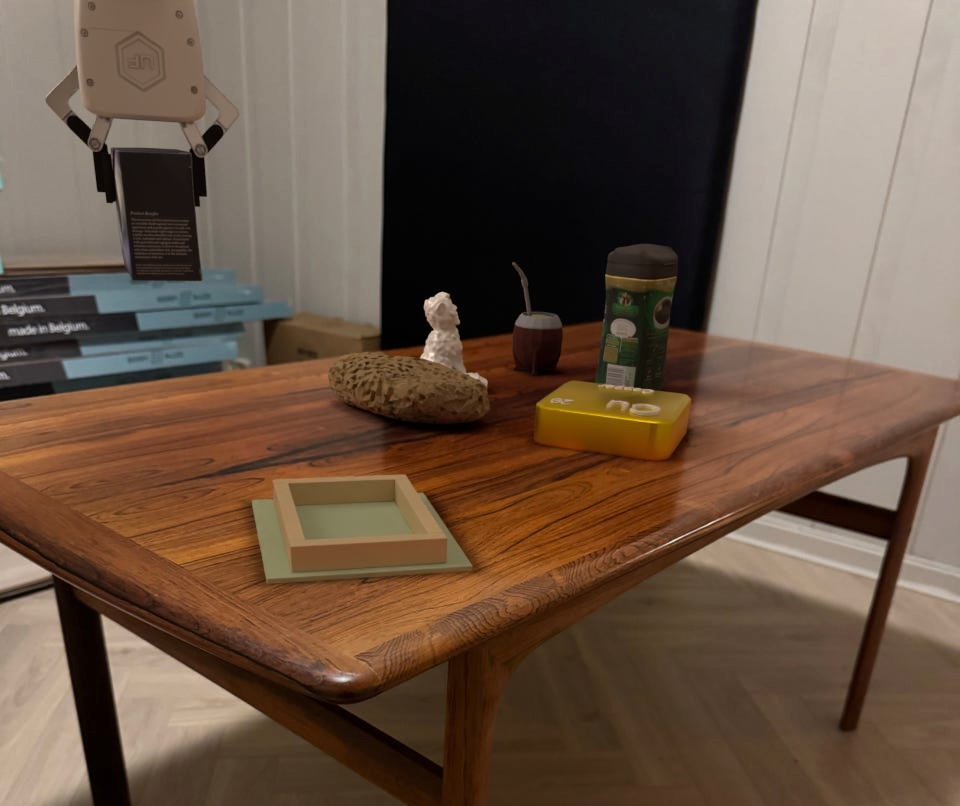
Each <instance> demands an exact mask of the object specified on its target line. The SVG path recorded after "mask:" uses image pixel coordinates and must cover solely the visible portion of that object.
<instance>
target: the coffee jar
mask: <svg viewBox="0 0 960 806" xmlns="http://www.w3.org/2000/svg"><path fill="white" fill-rule="evenodd" d="M678 264H679V256H678V255H677V253H676V252H675V251H674V250H673V248H672V247H671V246H665V245H660V244H652V243H639V244H631V245H627V246H620V247H616V248H615V249H614V250H613V251H611V252H609V254H608V255H607V264H606V270H605V277H604V278H605V279H604V280H605V307H604V315H603V322H602V323H603V324H602V331H601V339H600V345H599V351H598V352H599V353H598V359H597V366H596V372H595V380H594V381H595V382H594V383H599V384H610V385H615V386H623V385H624V387H634V388H641V389H651V390H656V391H663V389H664V385H665V375H666V366H667V365H666V363H667V362H666V361H667V351H668V340H669V329H670V321H671V320H670V319H671V310H672V303H673V297H674V291H675V287H676V283H677V279H678V277H677V276H678V270H679V269H678V267H679V265H678Z"/></svg>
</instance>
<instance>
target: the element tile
mask: <svg viewBox="0 0 960 806" xmlns="http://www.w3.org/2000/svg"><path fill="white" fill-rule="evenodd" d="M691 406H692V399H691V397H690V396H689V395H688V394H685V393H680V392H671V391H664V390H661V391H656V390H651V389H641V388H634V387H624V385H623V386H615V385H610V384H599V383H595V382H591V381H590V382H589V381H581V380H569V381H567V382H565V383H563V384H562V385H560V386H559V387H557V388H556V389H555V390H553V391H552V392H551V393H548V394H547V395H545V396H544V397H543V398H541V399H540V400H539V401H538V402H536V404H535V415H534V426H533V427H534V429H533V440H534V442H535V443H536V444H538V445H541V446H546V447H553V448H559V449H567V450H571V451H572V450H573V451H579V452H587V453H594V454H599V455H608V456H615V457H621V458H629V459H636V460H642V461H651V462H661V461H666V460H668V459H670V458H671V457H672V455H673V454H674V452H675V451H676V449H677V448H678V446H679V445H680V443H681V442H682V441H683V439H684V438H685V436H686V434H687V432H688V426H689V418H690V412H691Z"/></svg>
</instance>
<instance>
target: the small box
mask: <svg viewBox="0 0 960 806" xmlns="http://www.w3.org/2000/svg"><path fill="white" fill-rule="evenodd" d="M110 154H111V159H112V169H113V180H114V190H115V199H116V201H115V202H114V203H115V210H116V217H117V219H116V220H117V227H118V232H119V233H118V234H119V242H120V249H121V254H122V260H123V265H124V267H125V269H126V271H127V273H128V274H129V277H130V279H131V281H132V282H139V281H140V282H157V281H158V282H202V281H203V273H202V272H203V271H202V263H201V255H200V245H199V234H198V224H197V212H196V207H195V201H194V189H193V168H192V154H191V153H190V152H189V151H187V150H182V149H177V148H160V147H159V148H158V147H116V146H115V147H112V146H111V147H110Z"/></svg>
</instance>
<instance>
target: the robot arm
mask: <svg viewBox="0 0 960 806" xmlns="http://www.w3.org/2000/svg"><path fill="white" fill-rule="evenodd" d="M73 29H74V44H75V57H76V65H75V66H74V67H72V69H71V70H70V71H69V72H68V73H67V74H66V75H65V76H64V77H63V78H62V79H61V80H60V81H59V82H58V83H57V85H55V86H54V87H53V89H51V90H50V91H49V93H48V94H47V95H46V96H45V99H44V100H45V103H46V105H47V106H48V107H49V108H50V109H51V111H53V113H55V115H57V116H58V117H59V119H60V120H61V121H62V122H63V123H64V125H66V127H68V129H70V131H72V132H73V133H74V135H76V136H77V137H78V138H79V140H81V142H83V143H84V144H85V145H86V146H87V147H88V148H89V149H90V150H91V151H92V160H93V167H94V168H93V169H94V176H95V185H96V186H95V187H96V192H97V193H104V194H105V201H106V204H113V203H116V202H115V201H116V199H115V190H114V180H113V169H112V159H111V153H110V152H109V148H108V144H107V143H106V142H107V140H108V137H109V133H110V131H111V128H112V125H113V122H114V120H115V119H118V120H131V121H133V120H134V121H145V122H146V121H147V122H162V123H163V122H164V123H178V125H179V127H180V129H181V131H182V133H183V135H184V137H185V139H186V141H187V144H188V145H189V150H188V152H190V153H191V154H192V168H193V189H194V201H195V208H200V207H201V200H200V199H201V198H203V197H204V198H207V197H208V189H207V188H208V187H207V176H206V175H207V174H206V162H205V159H206V156H207V155H208V154H209V153H210V152H211V150H212V149H213V148H214V147H215V146H216V145H217V144H218V143H219V142H220V140H221V139H223V137H224V135H225V134H226V133H227V132H228V131H229V130H230V128H231V127H232V126H233V124H234V123H235V122H237V119H238V118H239V116H240V112H239V109H238V108H237V107H236V106H235V105H234V104H233V103H232V102H231V101H230V100H229V98H227V97H226V96H225V95H224V93H222V92H221V91H220V89H218V87H217V86H216V85H215V84H214V83H213V82H212V81H211V80H210V79H209V78H208V77H207V76H206V75H205V74H204V63H203V55H202V45H201V39H200V38H201V37H200V31H199V24H198V19H197V13H196V9H195V4H194V0H73ZM78 91H79V95H80V100H81V103H82V106H83V107H84V109H86V110H87V111H88V112H89V113H91V114H93V115H95V118H94V121H93V124H92V126H91V127H90V126H89V125H88V124H86V122H85V121H84V120H83V119H82V118H81V117H79V115H78V114H77V113H76V112H75V111H74V110H73V109H72V108H71V105H70V104H69V101H70V99H71V98H72V97H73V96H74V95H75V94H76V93H77V92H78ZM207 101H208V102H209V103H210V104H211V105H212V106H213V107H214V108H215V109H216V110H217V112H218V113H217V114H218V115H217V117H216V119H215V120H214V122H212V124H211V125H210V126H209V127H208V128H207V130H205V132H204V133H203V134H201V132H200V130H199V129H198V126H197V124H196V122H197V121H199V120H201V119H202V118H203V117H204V116H205V114H206V109H207ZM200 197H201V198H200Z"/></svg>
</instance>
